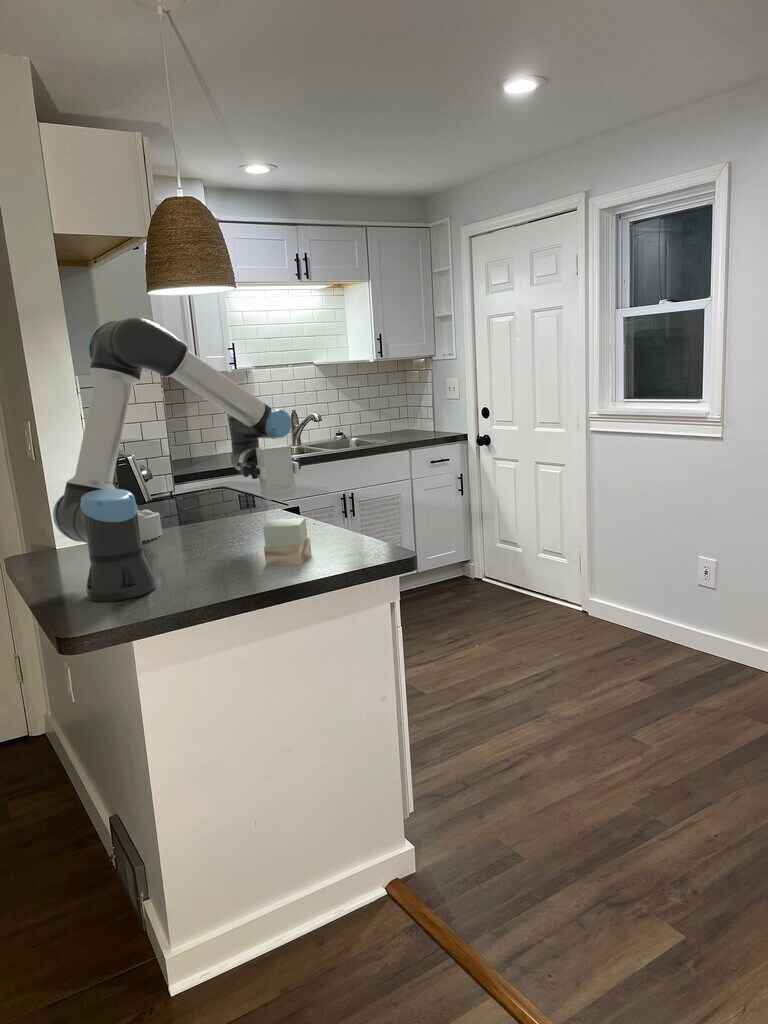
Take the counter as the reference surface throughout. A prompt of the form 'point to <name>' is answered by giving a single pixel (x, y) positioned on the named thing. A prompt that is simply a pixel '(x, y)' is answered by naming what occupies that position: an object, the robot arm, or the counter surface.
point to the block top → (285, 532)
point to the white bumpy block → (149, 524)
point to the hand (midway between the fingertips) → (281, 470)
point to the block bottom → (288, 554)
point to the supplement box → (276, 472)
